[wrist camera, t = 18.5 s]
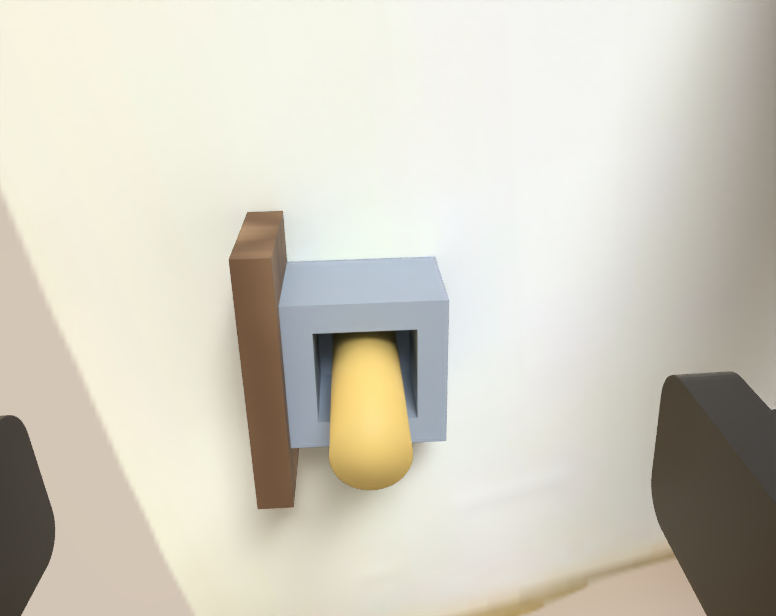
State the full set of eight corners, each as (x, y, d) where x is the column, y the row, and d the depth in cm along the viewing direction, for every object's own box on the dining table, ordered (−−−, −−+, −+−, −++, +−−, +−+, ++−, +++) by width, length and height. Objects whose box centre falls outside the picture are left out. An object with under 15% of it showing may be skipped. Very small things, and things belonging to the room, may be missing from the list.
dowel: (394, 302, 35) (413, 419, 25) (395, 358, 36) (412, 488, 27) (331, 304, 34) (327, 422, 25) (334, 360, 36) (330, 492, 27)
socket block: (434, 256, 35) (448, 300, 30) (433, 384, 38) (446, 440, 33) (286, 262, 34) (278, 306, 30) (297, 389, 37) (290, 448, 33)
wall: (282, 211, 33) (271, 257, 28) (300, 430, 38) (293, 507, 33) (247, 212, 33) (228, 259, 28) (269, 432, 38) (257, 508, 33)
